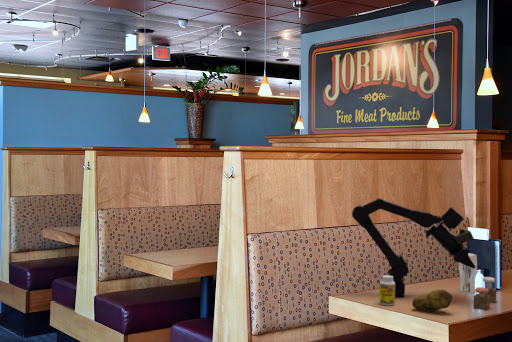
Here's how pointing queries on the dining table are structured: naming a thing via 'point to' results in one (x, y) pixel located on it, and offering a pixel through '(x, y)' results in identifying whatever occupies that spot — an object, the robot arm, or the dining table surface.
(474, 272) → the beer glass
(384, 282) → the supplement bottle
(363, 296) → the dining table surface
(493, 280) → the ivory key
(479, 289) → the red rounded knob
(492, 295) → the ivory key housing
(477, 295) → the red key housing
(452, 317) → the dining table surface
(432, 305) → the potato
